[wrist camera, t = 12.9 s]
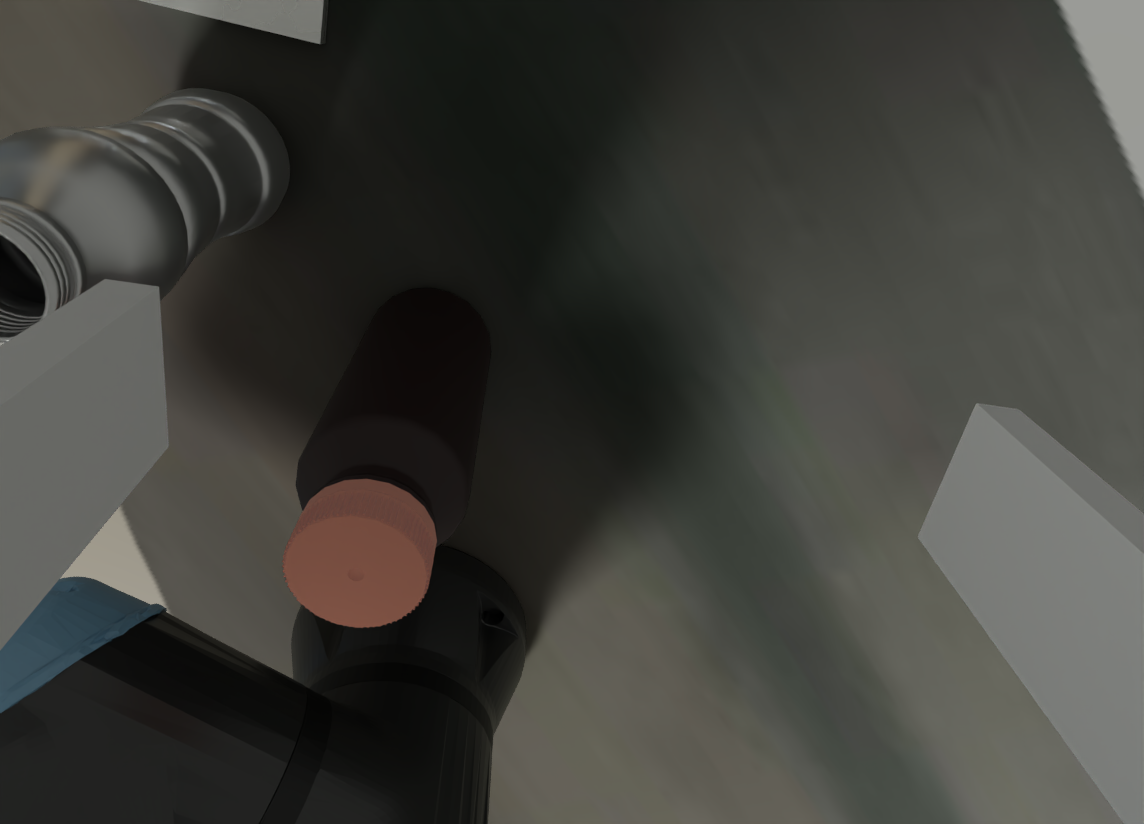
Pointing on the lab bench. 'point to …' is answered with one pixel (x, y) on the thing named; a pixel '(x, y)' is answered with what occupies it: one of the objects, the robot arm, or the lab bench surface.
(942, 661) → the lab bench surface
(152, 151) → the plastic bottle
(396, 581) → the vinegar
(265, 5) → the grey socket base
